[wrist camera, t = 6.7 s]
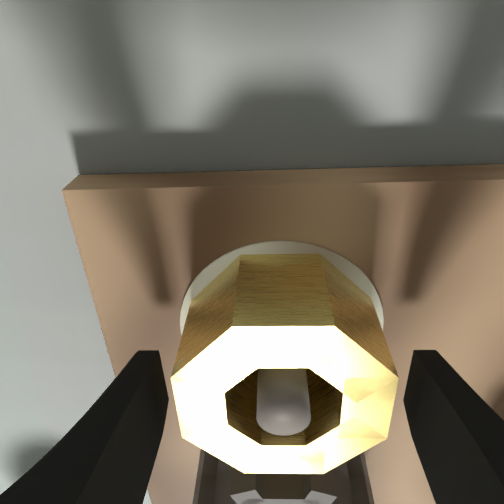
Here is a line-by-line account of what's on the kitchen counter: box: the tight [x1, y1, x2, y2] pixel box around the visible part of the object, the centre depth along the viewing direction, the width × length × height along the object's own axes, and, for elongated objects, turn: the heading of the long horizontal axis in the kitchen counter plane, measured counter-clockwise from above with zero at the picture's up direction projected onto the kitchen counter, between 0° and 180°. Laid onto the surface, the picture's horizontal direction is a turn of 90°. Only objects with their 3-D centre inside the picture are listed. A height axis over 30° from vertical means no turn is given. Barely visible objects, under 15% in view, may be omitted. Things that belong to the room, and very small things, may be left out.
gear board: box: [62, 164, 504, 504], centre depth 14 cm, size 18×16×5 cm
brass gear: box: [171, 253, 399, 474], centre depth 12 cm, size 6×6×3 cm
